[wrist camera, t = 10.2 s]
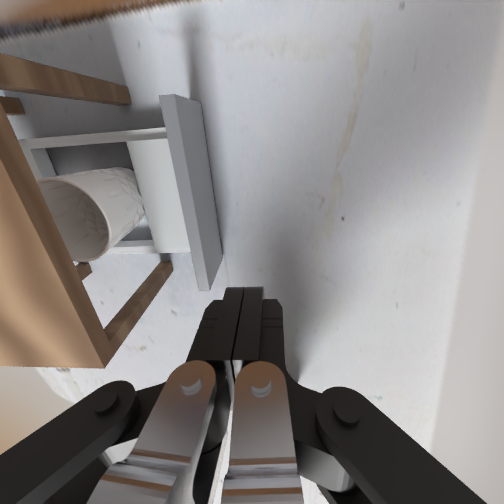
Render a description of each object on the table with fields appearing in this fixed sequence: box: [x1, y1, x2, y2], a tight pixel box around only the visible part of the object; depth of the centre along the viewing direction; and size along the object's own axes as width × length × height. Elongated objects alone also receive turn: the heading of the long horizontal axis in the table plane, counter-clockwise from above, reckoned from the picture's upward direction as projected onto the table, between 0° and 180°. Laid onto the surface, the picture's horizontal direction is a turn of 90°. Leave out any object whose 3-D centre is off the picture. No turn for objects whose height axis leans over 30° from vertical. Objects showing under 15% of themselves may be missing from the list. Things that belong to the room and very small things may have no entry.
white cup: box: [36, 167, 146, 262], centre depth 26 cm, size 8×8×10 cm
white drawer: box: [18, 94, 223, 291], centre depth 27 cm, size 20×18×8 cm
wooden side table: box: [0, 53, 173, 369], centre depth 24 cm, size 14×22×16 cm, turn 4°
